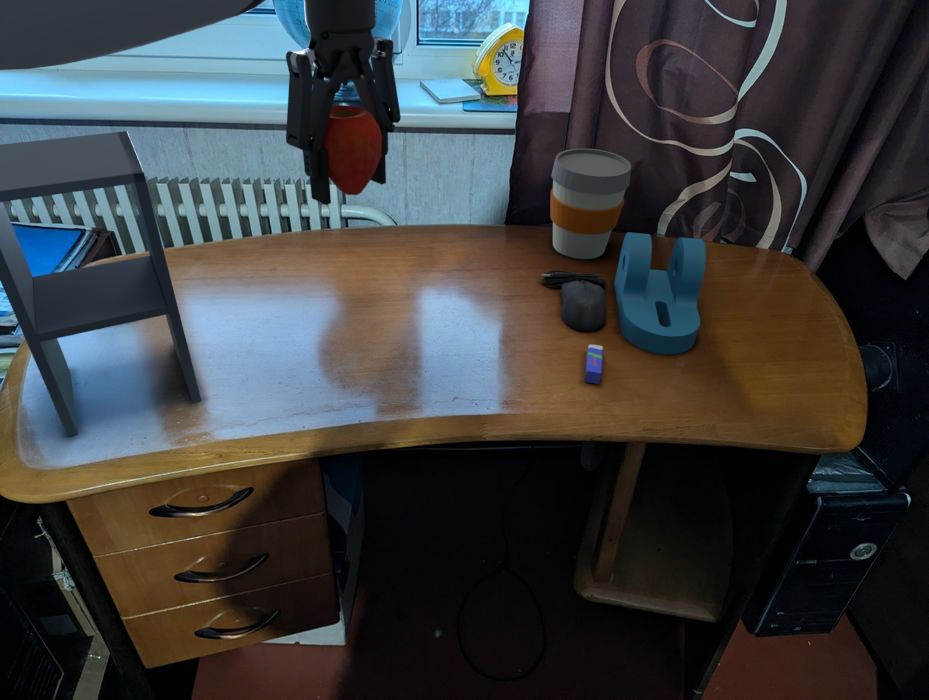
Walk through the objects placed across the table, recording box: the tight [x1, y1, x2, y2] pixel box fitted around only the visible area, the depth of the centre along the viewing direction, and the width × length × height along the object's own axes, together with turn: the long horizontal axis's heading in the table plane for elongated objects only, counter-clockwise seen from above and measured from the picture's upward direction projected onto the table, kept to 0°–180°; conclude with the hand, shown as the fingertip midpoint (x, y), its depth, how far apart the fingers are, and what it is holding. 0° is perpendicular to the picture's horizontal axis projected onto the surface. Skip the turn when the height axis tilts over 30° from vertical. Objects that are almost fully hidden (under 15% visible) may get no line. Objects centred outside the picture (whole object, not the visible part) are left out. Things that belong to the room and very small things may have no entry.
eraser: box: [584, 343, 604, 385], centre depth 85 cm, size 2×6×2 cm, turn 168°
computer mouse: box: [541, 269, 607, 332], centre depth 97 cm, size 10×15×4 cm
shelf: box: [0, 130, 202, 438], centre depth 70 cm, size 12×14×28 cm
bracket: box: [613, 231, 707, 355], centre depth 93 cm, size 18×10×10 cm, turn 173°
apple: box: [321, 104, 382, 196], centre depth 80 cm, size 9×8×11 cm
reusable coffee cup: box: [550, 147, 632, 260], centre depth 109 cm, size 13×13×15 cm
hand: (349, 190), depth 83 cm, fingers closed on apple, 8 cm apart
